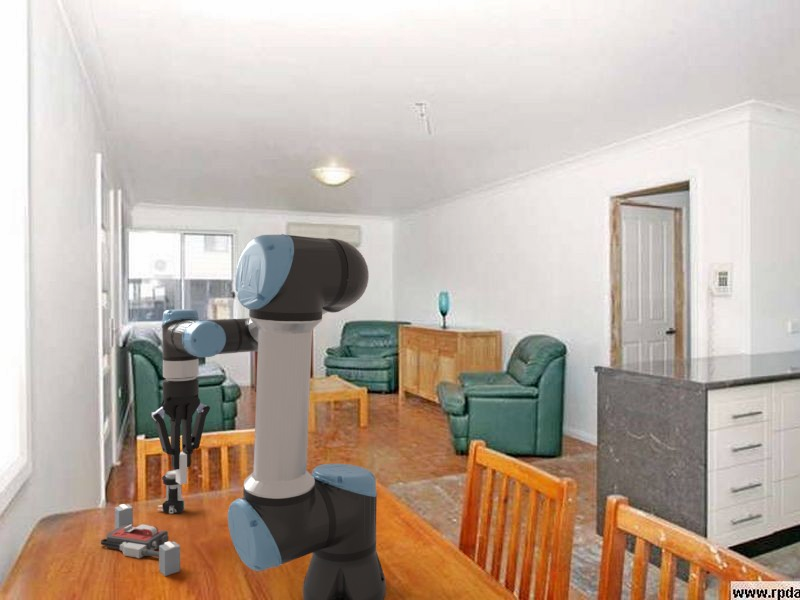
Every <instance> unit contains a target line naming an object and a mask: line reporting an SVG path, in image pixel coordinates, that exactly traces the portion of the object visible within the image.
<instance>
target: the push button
mask: <svg viewBox="0 0 800 600" xmlns="http://www.w3.org/2000/svg"><path fill="white" fill-rule="evenodd" d="M161 479H162V484H163V485H165V491H166V492H165V496H166V497H165V501H164V502H162V504H161V505H160V504H159V505H157V507H158V508H157V511H162V513H163V514H179V515H180V514H182V513H183V512H184V511H185V500H184V499H183V497H182V484H181V485H180V484H179V483H177V482H176V470H174V469H171V470H169V471H167V472H165V474H164V475H162V477H161ZM160 507H161V508H160Z"/></svg>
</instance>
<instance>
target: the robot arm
mask: <svg viewBox="0 0 800 600" xmlns="http://www.w3.org/2000/svg"><path fill="white" fill-rule="evenodd" d="M368 267H369V266H368V264H367V262H366V260H365V258H364V255H363V254H362V252H360V250H359V249H357V248H356V247H355V246H354V245H353V244H351V243H349V242H347V241H346V240H345V241H344V240H342V239H338V238H323V237H314V236H313V237H312V236H302V235H293V234H284V233H282V234H261V235H259V236H256V237H254V238H252V239H251V240H249V242H248V243H247V245H246V246H245V247H244V249H243V251H242V253H241V255H240V257H239V260H238V263H237V267H236V272H235V279H234V281H235V282H234V283H235V291H236V293H237V295H236V297H237V300H238V301H239V303H240V304H241V306H243V307H244V308H246V309H247V310H248V311H249V313H248V315H249V316H248V317H246V318H227V319H226V318H225V319H199V313H198V310H196V309H183V308H182V309H166V310H165V311H164V312H163V314H162V322H161V323H162V324H161V331H162V333H161V336H162V377H163V379H164V380H163V381H162V401H161V404H160V407H159V408H158V409H157V410H155V411H151V412H150V414H149V417H151V418H152V420H153V422H154V424H155V427H156V430H157V434H158V438H159V442H160V446H161V451H162V452H163V453H164V454H166V455H171V468H172V470H176V482H177V483H179V484H180V485H181V486H182V485H184V484H187V483H188V468H189V467H191V465H192V461H191V458H192V454H193V453H194V450H197V449H199V448H200V445H201V440H202V436H203V431H204V428H205V427H204V426H205V422H206V418H207V415H208V413H209V412H210V410H211V406H209V405H206V404H205V403H203V402H201V399H200V397H199V390H200V386H199V384H200V383H199V379H198V376H199V375H200V372H199V367H200V366H199V363H200V362H199V358H210V357H215V356H217V355H226V354H227V355H228V354H235V353H236V354H237V353H247V352H248V353H251V352H257V361H256V362H257V363H256V365H257V367H256V391H255V392H256V396H255V418H254V420H255V421H254V422H255V424H254V446H253V448H254V450H253V470H252V472H251V473H250V474H249V475H248V476H247V477H246V478H244V480H243V490H242V491H243V493H242V497H239V498H236V499H235V500H234V501H232V502H231V503H230V505H229V507H228V510H227V525H228V529H229V530H228V531H229V534H230V538H231V541H232V544H233V547H234V549H235V551H236V553H237V555H238V557H239V558H240V560H241V561H242V563H243V564H244V565H245V566H246V567H247V568H249V569H250V570H252V571H256V572H261V571H265V570H268V569H273V568H279V567H281V566H282V565H283V564H285V563H286V564H287V563H289V562H291V561H294V560H297V559H299V558H302V557H304V556H307V555H310V554H311V558H310V561H309V563H308V564H309V565H308V568H307V572H306V575H305V578H304V580H303V584H302V597H303V598H302V600H384V599H385V597H386V593H387V592H386V589H387V588H386V586H387V581H386V577H385V573H384V572H383V571H384V570H383V567H382V564H381V561H380V557H379V555H378V551H377V501H378V500H377V497H378V493H377V483H376V482H377V480H376V476H375V475H374V473H373V472H372V471H370V470H368V469H367V468H365V467H362V466H357V465H353V464H346V463H323V464H319V465H317V466H315V467H314V468H313V470H312V473H310V472H309V471H307V460H308V443H309V441H308V439H309V437H308V436H309V414H310V411H309V410H310V392H311V391H310V390H311V368H312V367H311V366H312V342H313V330H314V329H315V328H316V327H317V326H318V325H319V324H320V323H321V322H322V321H323V315H325V314H326V313H331V314H333V313H340V312H341V311H343V310H345V309H347V308H349V307H350V306H352V305H354V304H355V303H357V302H358V300H360V299H361V298H362V296H363V295H364V293H365V291H366V289H367V287H368V283H369V275H370V274H369V268H368ZM195 413H196V416H195V419H194V423H193V416H194V414H195ZM165 415H166V416H167V417H168V418H169V423H170V436H169V433H168V430H167V425H166V423H165V419H164V418H165ZM192 423H193V424H192ZM192 425H193V429H192ZM181 449H182V451H181Z"/></svg>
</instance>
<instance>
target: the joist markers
mask: <svg viewBox="0 0 800 600" xmlns="http://www.w3.org/2000/svg"><path fill="white" fill-rule="evenodd" d="M133 511H134V510H133V506H132V505H130V504H129V503H127V504H125V503H122V504H119V506H115V507H114V530H115V529H117V528H119V527H121V526H123V525H125V526H129V525H130V524H132V526H134V523H133V522H134V512H133ZM158 552H159V557H158V564H159V565H158V571H159V572H160V573H161V574H162V575H163V576H164V577H167V576H170V575H172V574H175V573H178V572H181V546H180V544H178V543H177V542H176V541H170V540H168V542H165V543H164V544H163V545H160V546H159V548H158Z"/></svg>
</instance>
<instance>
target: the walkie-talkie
mask: <svg viewBox="0 0 800 600" xmlns="http://www.w3.org/2000/svg"><path fill="white" fill-rule="evenodd" d="M168 533H169V532H168V530H165V529H164V530H162V529H158V527H157V526H155V525H149V524H143V523H142V524H139V525H138V526H135V525H133V526H132V524H130V525H129V526H125V525H123V526H121V527H119V528H117V529H115V528H114V529H113V530H112V531H109V532H108V533H107V535H106V538H104V539H101V541H100V545H101V546H106V548H107V549H113V550H119V551H122V553H123V556H124V557H125V556H126V557H131V558H136V559H141V558H143V557H148V556H150V557H154V558H159V550H158V551H157V549H159V546H160V545H163V544H164V543H165V542H168V541H169V535H168Z"/></svg>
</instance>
